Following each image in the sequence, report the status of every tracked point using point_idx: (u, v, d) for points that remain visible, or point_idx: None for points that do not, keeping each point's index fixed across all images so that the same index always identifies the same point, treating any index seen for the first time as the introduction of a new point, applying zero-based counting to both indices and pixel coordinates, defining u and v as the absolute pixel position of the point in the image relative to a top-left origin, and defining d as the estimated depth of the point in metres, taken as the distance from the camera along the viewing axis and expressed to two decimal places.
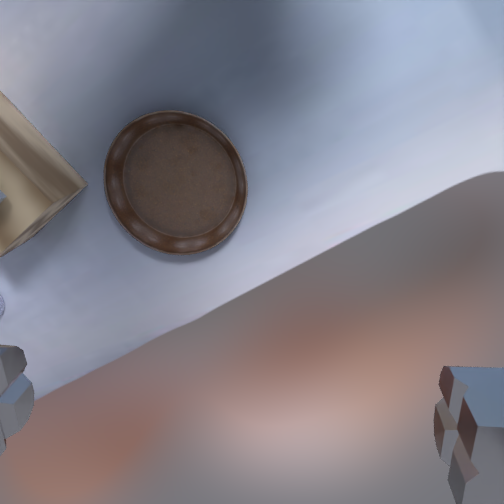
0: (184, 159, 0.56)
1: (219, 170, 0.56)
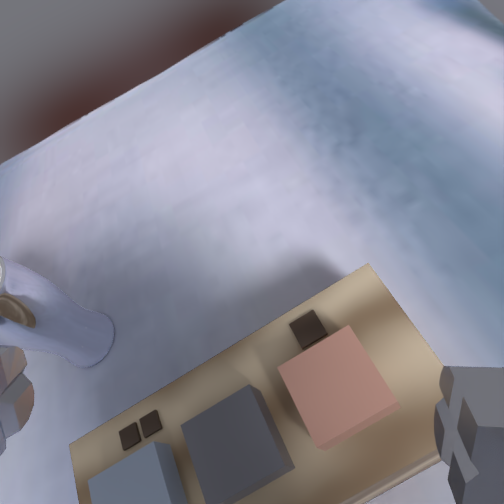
0: None
1: None
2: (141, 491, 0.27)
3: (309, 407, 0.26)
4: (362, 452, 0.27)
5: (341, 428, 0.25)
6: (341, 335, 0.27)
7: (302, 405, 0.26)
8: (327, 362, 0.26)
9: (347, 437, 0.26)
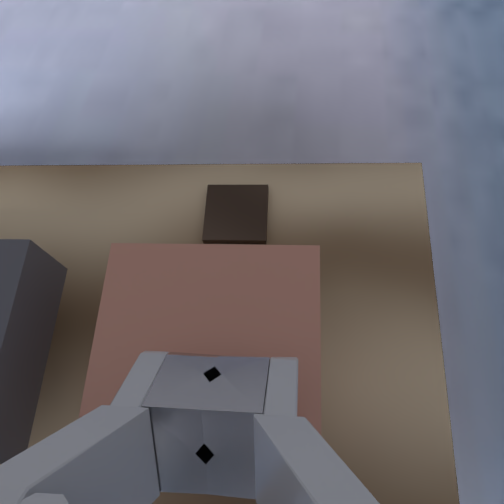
0: None
1: None
2: None
3: (115, 369, 0.10)
4: (184, 503, 0.12)
5: None
6: (288, 257, 0.10)
7: (105, 355, 0.10)
8: (220, 297, 0.10)
9: None
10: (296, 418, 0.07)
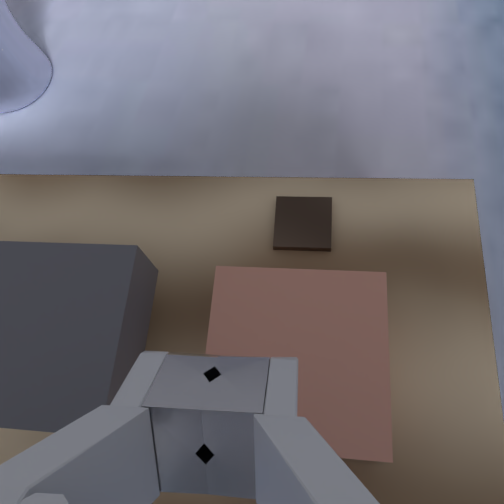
0: None
1: None
2: None
3: None
4: None
5: None
6: (360, 280, 0.13)
7: None
8: (307, 312, 0.13)
9: None
10: (296, 418, 0.07)
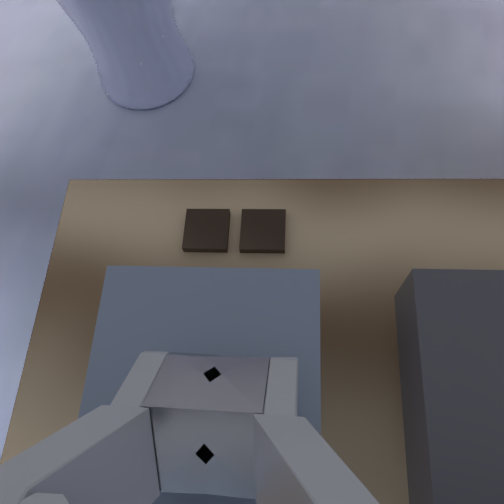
0: None
1: None
2: None
3: None
4: None
5: None
6: None
7: None
8: None
9: None
10: (296, 418, 0.07)
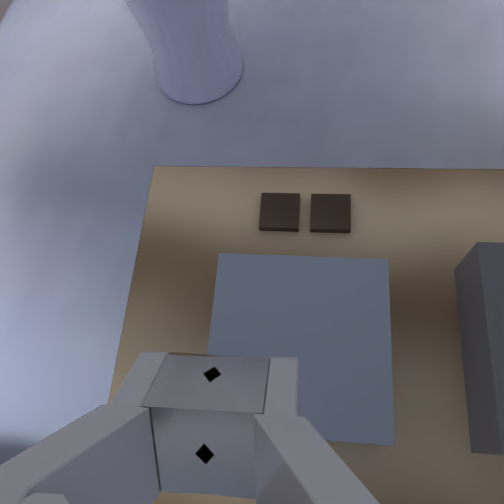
0: None
1: None
2: (330, 333, 0.13)
3: None
4: None
5: None
6: None
7: None
8: None
9: None
10: (296, 418, 0.07)
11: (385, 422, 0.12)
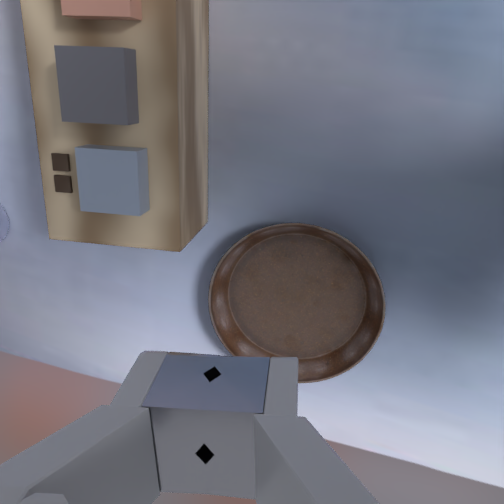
0: (320, 286, 0.47)
1: (341, 321, 0.48)
2: (104, 170, 0.35)
3: (101, 5, 0.31)
4: None
5: None
6: None
7: (98, 10, 0.31)
8: None
9: None
10: (296, 418, 0.07)
11: (130, 153, 0.34)
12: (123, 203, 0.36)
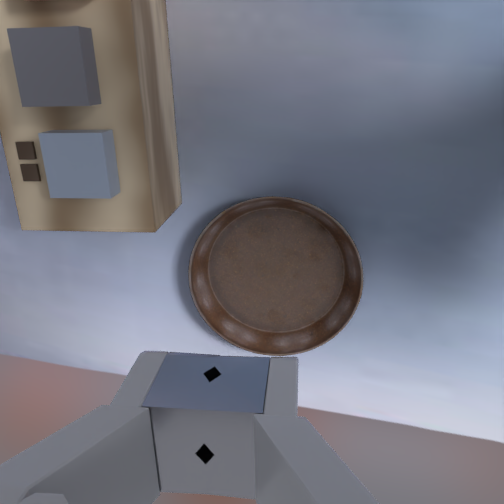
0: (298, 258, 0.47)
1: (322, 291, 0.49)
2: (70, 154, 0.35)
3: None
4: None
5: None
6: None
7: None
8: None
9: None
10: (296, 418, 0.07)
11: (95, 135, 0.34)
12: (93, 187, 0.35)
